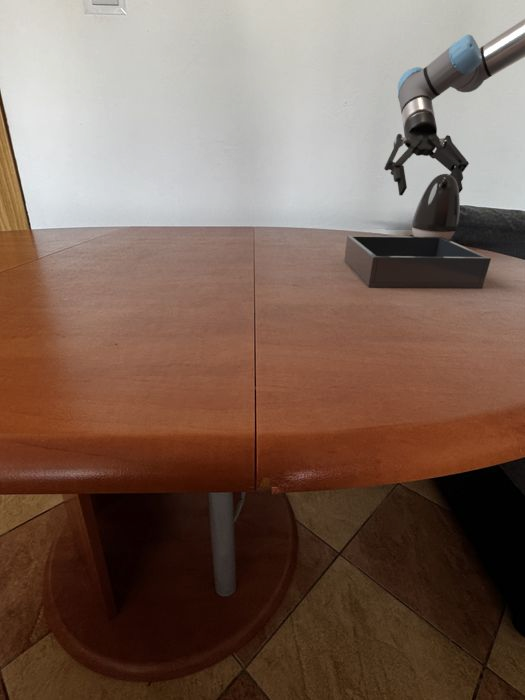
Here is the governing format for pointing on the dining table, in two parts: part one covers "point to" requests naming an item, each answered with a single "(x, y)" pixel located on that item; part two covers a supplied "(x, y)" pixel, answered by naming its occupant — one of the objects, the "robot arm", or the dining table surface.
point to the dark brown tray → (415, 262)
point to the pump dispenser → (438, 209)
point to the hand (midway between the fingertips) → (430, 192)
